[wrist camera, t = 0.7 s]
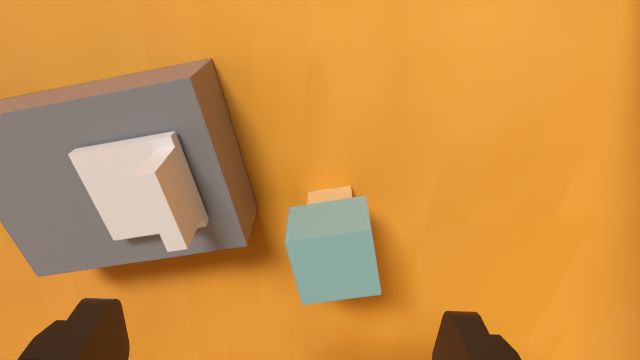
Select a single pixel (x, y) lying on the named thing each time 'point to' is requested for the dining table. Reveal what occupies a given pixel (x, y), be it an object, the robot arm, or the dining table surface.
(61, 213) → the socket
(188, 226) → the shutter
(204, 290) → the dining table surface
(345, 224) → the plug
